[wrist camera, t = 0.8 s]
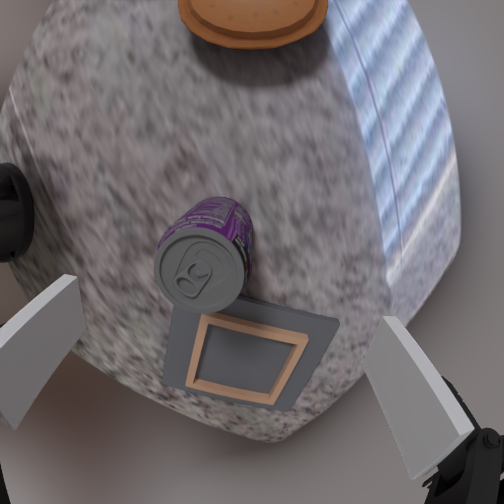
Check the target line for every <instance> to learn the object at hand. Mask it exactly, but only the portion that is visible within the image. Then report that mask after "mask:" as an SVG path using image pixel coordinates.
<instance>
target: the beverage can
mask: <svg viewBox="0 0 504 504" xmlns="http://www.w3.org/2000/svg"><path fill="white" fill-rule="evenodd" d="M252 244H253V225H252V221H251V218H250V216H249V214H248V213H247V211H246V210H245V209H244V208H243V207H242V206H241V205H240V204H239V203H237V202H236V201H234V200H232V199H229V198H225V197H211V198H208V199H205V200H203V201H201V202H200V203H198V204H197V205H196V206H194V207H193V208H192V209H191V210H189V211H188V212H187V213H186V214H185V215H183V216H182V217H181V218H180V219H179V220H177V221H176V222H175V223H174V224H172V225H171V226H170V227H169V228H168V229H167V230H166V232H165V233H164V234H163V236H162V238H161V240H160V242H159V245H158V248H157V253H156V256H155V261H154V274H155V278H156V282H157V284H158V286H159V288H160V290H161V291H162V293H163V294H164V296H165V297H166V298H167V299H168V300H169V301H170V302H172V303H173V304H174V305H176V306H177V307H179V308H181V309H183V310H186V311H189V312H192V313H199V314H207V313H213V312H217V311H220V310H222V309H224V308H226V307H227V306H229V305H230V304H231V303H232V302H233V301H234V300H235V299H236V298H237V296H238V295H239V293H240V292H241V291H242V290H243V289H244V287H245V286H246V284H247V282H248V280H249V277H250V273H251V267H252Z"/></svg>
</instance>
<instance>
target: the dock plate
mask: <svg viewBox="0 0 504 504" xmlns="http://www.w3.org/2000/svg"><path fill="white" fill-rule="evenodd" d="M339 325H340V322H339V320H338V319H334V318H330V317H326V316H321V315H317V314H312V313H308V312H304V311H300V310H296V309H292V308H287V307H283V306H279V305H275V304H271V303H267V302H264V301H260V300H256V299H252V298H248V297H244V296H241V295H238V296H237V298H236V299H235V300H234V301H233V302H232V303H231V304H230V305H229V306H227V307H226V308H224V309H222V310H220V311H217V312H213V313H207V314H199V313H192V312H189V311H186V310H183V309H181V308H179V307H177V306H176V305H174V308H173V313H172V319H171V325H170V331H169V338H168V344H167V351H166V358H165V365H164V373H163V380H162V384H164V385H168V386H171V387H174V388H178V389H181V390H185V391H188V392H192V393H196V394H199V395H203V396H207V397H211V398H216V399H220V400H225V401H229V402H234V403H239V404H244V405H250V406H255V407H261V408H267V409H274V410H281V411H289V410H290V408H291V407H292V405H293V404H294V402H295V401H296V399H297V398H298V396H299V395H300V393H301V391H302V390H303V388H304V387H305V385H306V383H307V382H308V380H309V378H310V377H311V375H312V373H313V372H314V370H315V368H316V367H317V365H318V363H319V361H320V360H321V358H322V356H323V354H324V353H325V351H326V349H327V347H328V345H329V344H330V342H331V340H332V338H333V336H334V334H335V332H336V331H337V329H338V327H339Z"/></svg>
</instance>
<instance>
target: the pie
mask: <svg viewBox="0 0 504 504" xmlns="http://www.w3.org/2000/svg"><path fill="white" fill-rule="evenodd" d="M178 8H179V12H180V17H181V20H182V21H183V23H184V24H185V25H186V26H187V27H188V28H189V30H190V31H191V32H192V33H194V34H196V35H197V36H199V37H200V38H202V39H204V40H205V41H207V42H209V43H213V44H216V45H219V46H222V47H225V48H228V49H246V50H257V49H269V48H277V47H280V46H283V45H286V44H289V43H292V42H295V41H298V40H300V39H302V38H304V37H306V36H308V35H310V34H312V33H314V32H315V31H316V30H317V28H318V27H319V26H320V25H321V24H322V22H323V21H324V20H325V17H326V13H327V9H328V0H178Z"/></svg>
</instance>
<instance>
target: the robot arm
mask: <svg viewBox="0 0 504 504" xmlns="http://www.w3.org/2000/svg"><path fill="white" fill-rule="evenodd" d="M33 228H34V212H33V203H32V198H31V194H30V190H29V187H28V184H27V182H26V179H25V177H24V176H23V174H22V172H21V171H20V170H19V169H18V168H17V167H16V166H15V165H13V164H11V163H2V164H0V263H5V262H11V261H13V260H15V259H17V258H19V257H20V256H22V255H23V254H24V253H25V252H26V251H27V249H28V248H29V245H30V243H31V240H32V235H33ZM86 329H87V328H86V324H85V319H84V314H83V308H82V303H81V297H80V290H79V283H78V277H76V276H72V275H67V274H64V275H63V276H61V277H60V278H59V279H58V280H56V281H55V282H54V283H52V284H51V285H50V286H49V287H47V288H46V289H45V290H44V291H43V292H41V293H40V294H39V295H38V296H36V297H35V298H34V299H33V300H32V301H31V302H29V303H28V304H27V305H26V306H25V307H24V308H22V309H21V310H20V311H19V312H18V313H17V314H16V315H14V316H13V317H12V318H11V319H10V320H9V321H8V322H6V323H4V324H2V325H0V420H1V421H2V422H3V423H5V424H6V425H8V426H9V427H10V428H12V429H13V430H16V428H17V427H18V425H19V423H20V422H21V420H22V418H23V417H24V415H25V414H26V412H27V411H28V409H29V408H30V406H31V404H32V403H33V401H34V400H35V398H36V397H37V395H38V394H39V392H40V391H41V390H42V388H43V387H44V385H45V384H46V382H47V380H48V379H49V378H50V377H51V375H52V374H53V372H54V371H55V370H56V368H57V367H58V366H59V364H60V363H61V361H62V360H63V359H64V357H65V356H66V355H67V354H68V352H69V351H70V350H71V348H72V347H73V346H74V344H75V343H76V342H77V341H78V339H79V338H80V337H81V335H82V334H83V333H84V332H85V330H86ZM362 366H363V368H364V370H365V373H366V375H367V377H368V379H369V381H370V383H371V386H372V388H373V390H374V392H375V394H376V397H377V399H378V401H379V403H380V406H381V408H382V410H383V413H384V415H385V417H386V420H387V422H388V424H389V427H390V429H391V432H392V434H393V436H394V439H395V441H396V444H397V446H398V449H399V451H400V454H401V456H402V459H403V461H404V464H405V467H406V469H407V471H408V474H409V477H410V480H412V479H415V478H418V477H421V476H423V475H426V474H428V473H429V472H430V471H431V470H432V469H434V468H435V467H436V466H437V467H438V469H439V471H438V472H436V473H435V474H434V475H433V476H432V477H430V478H429V479H428V480H426V481H425V482H424V483H423V485H422V487H425V486H426V485H427V484H428V483H430V482H431V481H432V483H431V484H430V485H429V486H428V487H427V488H429V492H428V495H427V498H426V500H425V503H424V504H504V479H502V480H501V481H500V475H501V474H502V473H503V472H504V435H501V436H500V435H499V434H498V433H497V432H496V431H495V430H493V429H491V428H484V429H481V428H480V426H479V425H478V423H477V422H476V420H475V418H474V417H473V415H472V414H471V412H470V411H469V409H468V408H467V406H466V405H465V403H464V402H462V398H461V397H460V396H459V395H458V392H457V391H456V390H455V388H454V387H453V385H452V384H451V383H450V382H449V381H448V380H446V379H445V378H444V377H443V376H440V375H439V373H438V372H437V370H436V369H435V368H434V366H433V365H432V363H431V362H430V361H429V359H428V358H427V356H426V355H425V354H424V352H423V351H422V350H421V348H420V347H419V346H418V344H417V343H416V342H415V340H414V339H413V338H412V336H411V335H410V334H409V332H408V331H407V330H406V329H405V327H404V326H403V325H402V323H401V322H400V321H399V320H398V318H397V317H392V316H382V318H381V321H380V323H379V326H378V328H377V331H376V333H375V335H374V338H373V340H372V342H371V345H370V347H369V349H368V351H367V353H366V356H365V358H364V360H363V362H362ZM0 504H11V503H10V500H9V496H8V493H7V490H6V486H5V482H4V478H3V474H2V469H1V464H0Z"/></svg>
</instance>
